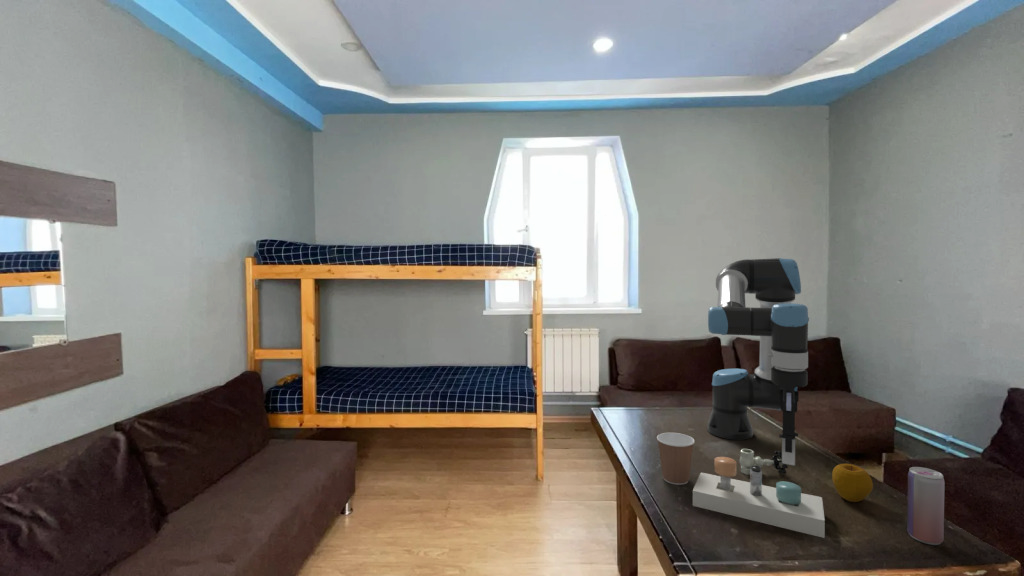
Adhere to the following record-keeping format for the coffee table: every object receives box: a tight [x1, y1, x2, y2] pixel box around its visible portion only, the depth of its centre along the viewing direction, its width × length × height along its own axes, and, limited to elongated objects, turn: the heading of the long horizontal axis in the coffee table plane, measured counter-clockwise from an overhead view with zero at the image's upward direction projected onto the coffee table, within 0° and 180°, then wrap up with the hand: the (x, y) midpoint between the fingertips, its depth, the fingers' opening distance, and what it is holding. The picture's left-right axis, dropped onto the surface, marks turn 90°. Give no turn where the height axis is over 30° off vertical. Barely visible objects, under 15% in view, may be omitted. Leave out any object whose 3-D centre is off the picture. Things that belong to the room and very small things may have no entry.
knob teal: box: [775, 481, 802, 506], centre depth 110 cm, size 5×5×7 cm
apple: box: [831, 463, 874, 503], centre depth 118 cm, size 8×8×9 cm
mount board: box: [692, 472, 826, 539], centre depth 114 cm, size 12×28×4 cm, turn 58°
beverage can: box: [906, 466, 945, 546], centre depth 101 cm, size 6×6×15 cm
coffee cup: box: [656, 432, 696, 486], centre depth 131 cm, size 10×10×12 cm
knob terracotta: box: [714, 456, 738, 490], centre depth 118 cm, size 5×5×7 cm
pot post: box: [749, 466, 763, 496], centre depth 114 cm, size 3×3×7 cm
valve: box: [739, 448, 789, 476], centre depth 134 cm, size 7×7×12 cm
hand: (788, 463), depth 110 cm, fingers closed
